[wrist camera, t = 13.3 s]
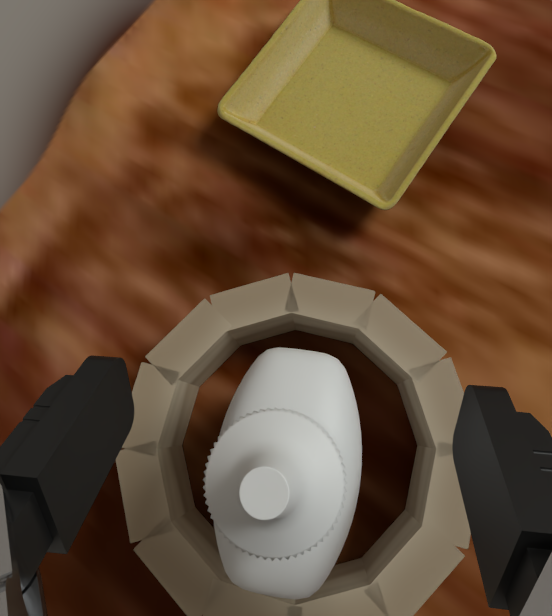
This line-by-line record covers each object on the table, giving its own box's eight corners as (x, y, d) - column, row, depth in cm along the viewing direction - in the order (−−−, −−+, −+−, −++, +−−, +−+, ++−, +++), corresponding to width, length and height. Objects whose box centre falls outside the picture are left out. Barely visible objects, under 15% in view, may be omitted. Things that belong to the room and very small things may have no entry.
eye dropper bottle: (209, 474, 18) (18, 558, 7) (297, 357, 19) (263, 249, 7) (301, 553, 17) (265, 808, 6) (391, 426, 18) (516, 425, 7)
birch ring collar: (500, 566, 17) (538, 595, 14) (185, 651, 17) (157, 698, 14) (394, 266, 20) (407, 238, 17) (126, 343, 20) (92, 328, 17)
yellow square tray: (220, 139, 22) (210, 109, 20) (325, 4, 23) (325, -36, 21) (381, 235, 20) (389, 214, 18) (486, 84, 22) (503, 48, 20)
